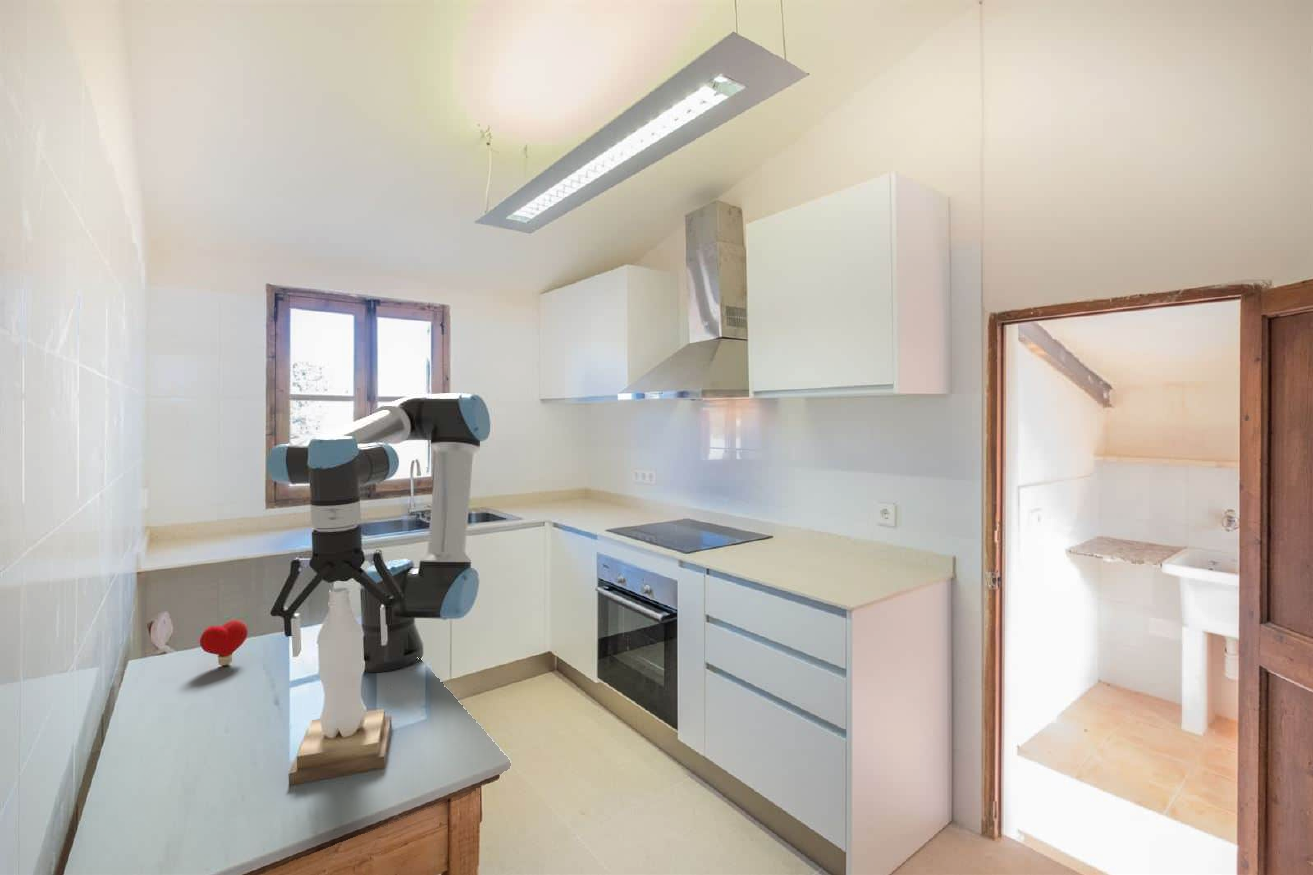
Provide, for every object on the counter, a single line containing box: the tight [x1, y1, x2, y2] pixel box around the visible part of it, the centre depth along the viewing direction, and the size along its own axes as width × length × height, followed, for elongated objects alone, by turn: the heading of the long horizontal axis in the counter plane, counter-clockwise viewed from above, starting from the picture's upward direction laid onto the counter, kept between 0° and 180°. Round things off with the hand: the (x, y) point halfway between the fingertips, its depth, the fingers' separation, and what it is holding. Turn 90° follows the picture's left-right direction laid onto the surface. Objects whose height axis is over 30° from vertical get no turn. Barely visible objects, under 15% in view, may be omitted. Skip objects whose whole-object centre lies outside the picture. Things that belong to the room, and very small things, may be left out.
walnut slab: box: [288, 715, 393, 786], centre depth 105 cm, size 14×14×2 cm
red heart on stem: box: [199, 620, 248, 667], centre depth 141 cm, size 9×7×10 cm
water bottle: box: [316, 586, 367, 738], centre depth 105 cm, size 7×7×25 cm
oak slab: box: [296, 708, 386, 769], centre depth 105 cm, size 12×12×2 cm
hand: (341, 648), depth 105 cm, fingers open, 13 cm apart
